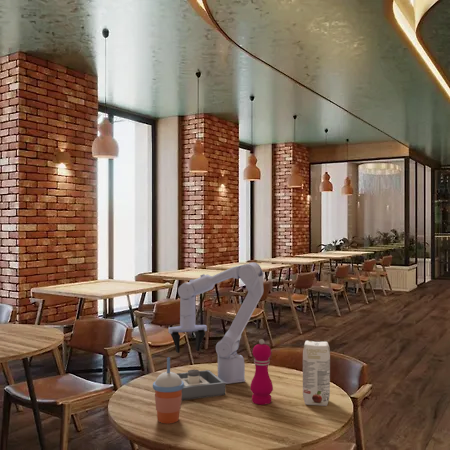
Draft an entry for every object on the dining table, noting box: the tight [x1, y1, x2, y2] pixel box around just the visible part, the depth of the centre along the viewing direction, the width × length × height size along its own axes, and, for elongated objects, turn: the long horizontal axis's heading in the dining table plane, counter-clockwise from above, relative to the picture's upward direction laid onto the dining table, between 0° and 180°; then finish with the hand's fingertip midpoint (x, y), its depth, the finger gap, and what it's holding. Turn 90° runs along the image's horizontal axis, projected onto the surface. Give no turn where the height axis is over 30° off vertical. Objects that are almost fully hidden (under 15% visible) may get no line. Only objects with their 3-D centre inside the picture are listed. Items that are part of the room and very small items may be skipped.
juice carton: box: [302, 340, 331, 407], centre depth 162 cm, size 8×9×19 cm
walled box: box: [176, 369, 226, 402], centre depth 173 cm, size 17×16×4 cm
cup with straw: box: [152, 356, 184, 425], centre depth 147 cm, size 9×9×18 cm
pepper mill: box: [250, 338, 274, 406], centre depth 162 cm, size 7×7×20 cm
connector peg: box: [187, 369, 201, 384], centre depth 173 cm, size 4×4×6 cm
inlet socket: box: [181, 376, 209, 387], centre depth 173 cm, size 8×8×3 cm
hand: (187, 351), depth 189 cm, fingers open, 7 cm apart
